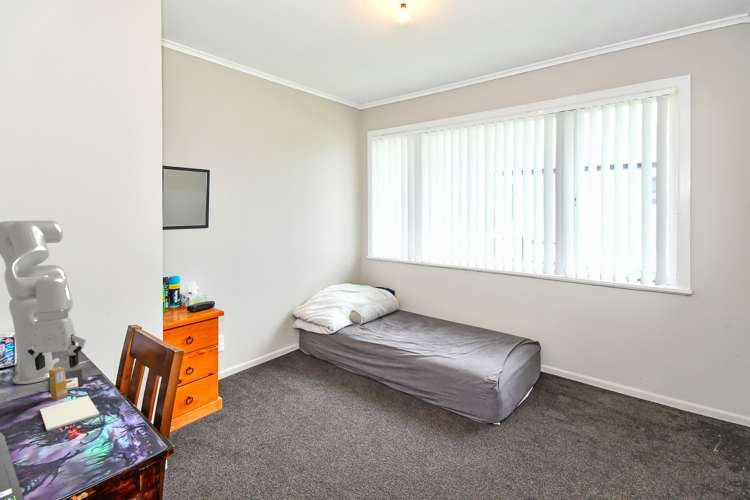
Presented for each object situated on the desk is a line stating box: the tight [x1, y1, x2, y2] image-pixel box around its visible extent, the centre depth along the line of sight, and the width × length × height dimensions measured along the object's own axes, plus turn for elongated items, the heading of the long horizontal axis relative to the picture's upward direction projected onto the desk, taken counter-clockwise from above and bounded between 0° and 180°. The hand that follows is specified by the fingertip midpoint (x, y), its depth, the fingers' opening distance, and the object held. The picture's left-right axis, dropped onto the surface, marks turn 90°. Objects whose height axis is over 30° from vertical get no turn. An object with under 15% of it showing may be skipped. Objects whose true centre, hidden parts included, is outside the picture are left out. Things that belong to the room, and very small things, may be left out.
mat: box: [39, 395, 100, 432], centre depth 115 cm, size 16×12×1 cm
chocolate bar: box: [48, 368, 84, 395], centre depth 137 cm, size 9×1×18 cm
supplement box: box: [48, 366, 68, 401], centre depth 124 cm, size 3×3×10 cm
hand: (57, 367), depth 123 cm, fingers open, 9 cm apart
